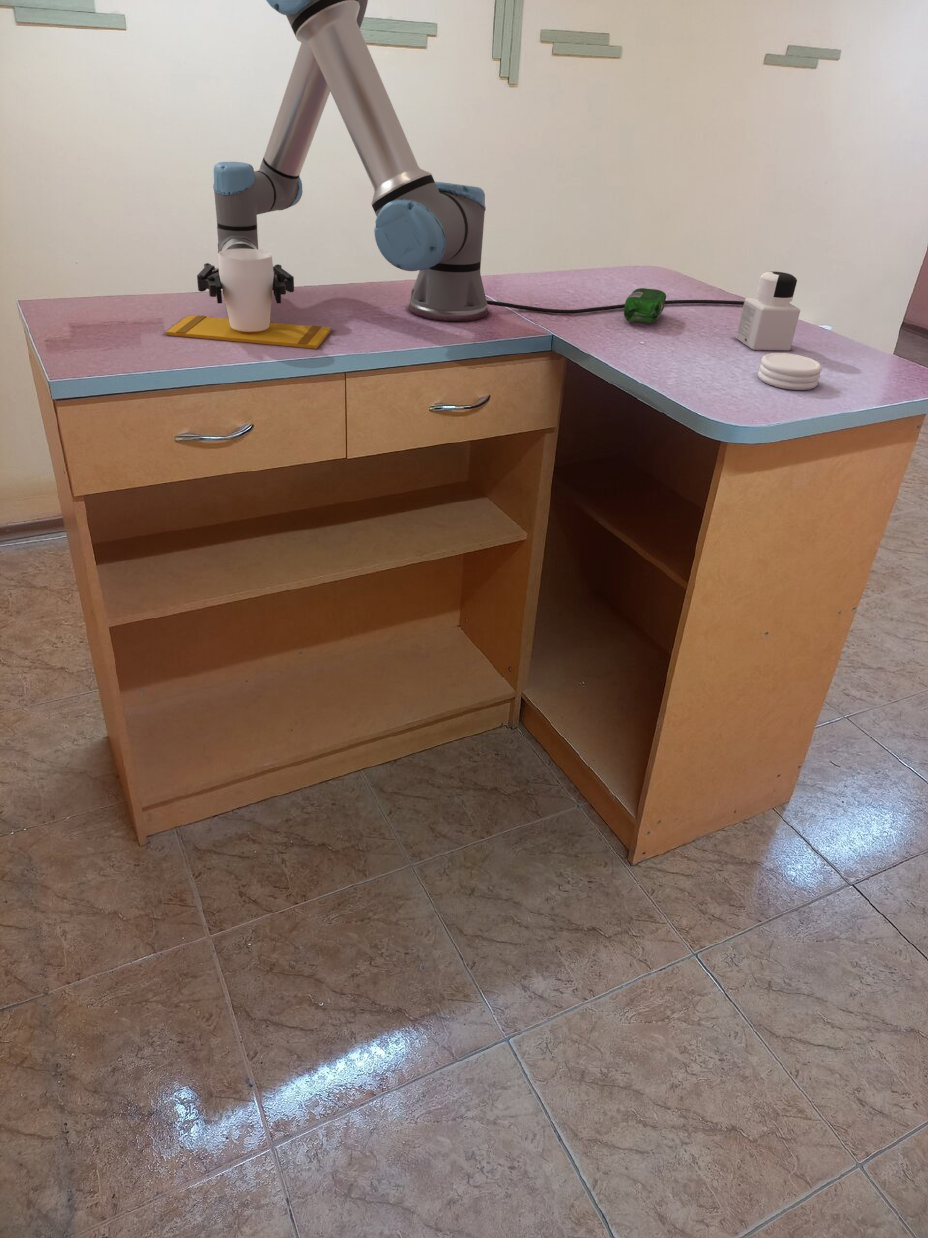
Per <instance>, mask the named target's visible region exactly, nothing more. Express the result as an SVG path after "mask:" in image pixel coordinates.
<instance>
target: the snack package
mask: <svg viewBox="0 0 928 1238" xmlns="http://www.w3.org/2000/svg"><path fill="white" fill-rule="evenodd" d="M666 299H667V295H666V292H664V291H663V290H660V289H656V288H654V289H653V288H646V287H639V288H636V289H634V290H633V291H632V292H631V293H630V294H629V295H628V297H626V299H625V303H624V304H625V307H624V308H623V316H624V318H625V319H626V321H627V322H628V323H640V324H646V325H650V324H654V323H655V322H656V321H657V320H658V319H659V318H660V316H661V315H662V313H663V311H664V309H665V305H666V304H665V301H667V300H666Z"/></svg>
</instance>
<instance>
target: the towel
mask: <svg viewBox="0 0 928 1238" xmlns="http://www.w3.org/2000/svg"><path fill="white" fill-rule="evenodd" d="M331 331H332V328H331V327H325V326H321V325H302V324H292V323H281V322H270V324H269V328H267V329H266V330H263V331H258V332H243V331H238V330H235V329H233V328H231V326H230V322H229V318H225V317H212V316H207V315H191V314H188V315H187V316H186V317H184V318H183V319H181V320H180V321H178V322H177V323H176V324H174V325H173V326H172V327H171V328H169V329H168V330H166V331H165V334H166V336H170V337H171V336H173V337H184V338H193V339H206V340H217V341H226V342H227V341H228V342H238V343H248V344H249V343H250V344H258V345H259V344H261V345H271V346H283V347H295V348H303V349H313V350H314V349H315V350H317V349H318V348H319V347H320V346H321V344H322V343H323V341H325V339H326V338H327V337H328V335H330V333H331Z"/></svg>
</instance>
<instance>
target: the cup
mask: <svg viewBox="0 0 928 1238" xmlns="http://www.w3.org/2000/svg"><path fill="white" fill-rule="evenodd" d="M273 266H274V264H273V254H272V253H271V252H269V251H267V250H262V249H258V250H257V249H244V248H239V249H227V250H223V251H220V252H219V254H218V268H219V276H220V280H221V285H222V289H221V291H222V293H223V299H224V303H225V308H226V314H227V317H228V318H227V319H229V322H230V326H231V328H233V329H235V330H238V331H243V332H258V331H263V330H266V329H267V328H269V324H270V323H271V322H270V321H271V313H272V312H271V311H272V301H273V300H272V299H273V290H272V289H273V278H274V271H273Z"/></svg>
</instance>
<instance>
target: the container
mask: <svg viewBox="0 0 928 1238" xmlns="http://www.w3.org/2000/svg"><path fill="white" fill-rule="evenodd" d="M797 283H798V279H797V277H795V276H794V275H793V274H791V273H787V272H783V271H767V272H763V273H762V274H761V275H760V277H759V281H758V285H757V286H758V287H757V289H756V294H755V297H756V298H755V297H746V298H745V299H744V301H745V302H744V305H742V311H741V315H740V319H739V323H738V328H737V334H736V340H738V341H739V342H741V343H743V344H744V345H745V346H746V347H748V348H749V349H751V350H752V351H790V350H791V349H792V346H793V345H792V344H793V341H794V338H795V333H796V329H797V326H798V322H799V318H800V314H801V308H799V307H798V306H795V304H794V305H793V304H792V303H791V302H793V299H794V295H795V290H796V286H797Z"/></svg>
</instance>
